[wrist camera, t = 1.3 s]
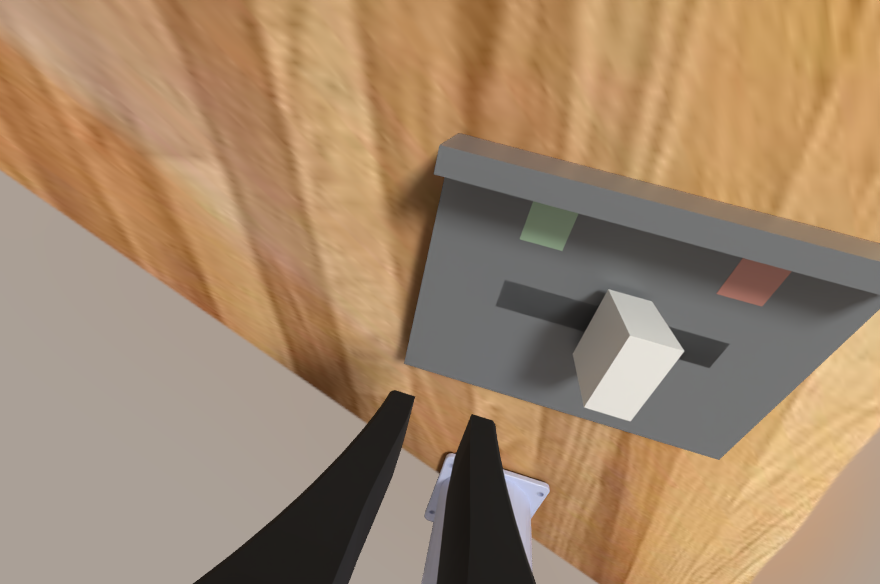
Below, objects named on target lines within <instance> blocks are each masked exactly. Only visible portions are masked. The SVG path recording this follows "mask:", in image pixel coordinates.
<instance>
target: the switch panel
mask: <svg viewBox="0 0 880 584" xmlns="http://www.w3.org/2000/svg"><path fill="white" fill-rule="evenodd" d="M434 174H435V175H438V176H442V177H445V178H444V183H443V187H442V192H441V196H440V201H439V206H438V210H437V215H436V219H435V224H434V229H433V233H432V238H431V242H430V247H429V252H428V256H427V261H426V265H425V270H424V275H423V279H422V284H421V288H420V293H419V298H418V302H417V307H416V311H415V316H414V321H413V325H412V330H411V334H410V339H409V344H408V348H407V353H406V357H405V362H404V364H407V365H410V366H414V367H417V368H420V369H423V370H427V371H430V372H433V373H436V374H440V375H443V376H446V377H449V378H453V379H456V380H459V381H463V382H466V383H469V384H472V385H476V386H479V387H482V388H485V389H489V390H492V391H495V392H499V393H502V394H505V395H508V396H512V397H515V398H518V399H521V400H525V401H528V402H531V403H535V404H538V405H541V406H544V407H548V408H551V409H554V410H557V411H561V412H564V413H567V414H571V415H574V416H577V417H580V418H584V419H587V420H590V421H593V422H597V423H600V424H603V425H607V426H610V427H613V428H616V429H620V430H623V431H626V432H629V433H633V434H636V435H639V436H643V437H646V438H649V439H652V440H656V441H659V442H662V443H665V444H669V445H672V446H675V447H679V448H682V449H685V450H688V451H692V452H695V453H698V454H701V455H705V456H708V457H711V458H715V459H718V460H719V459H720V458H721V457H723V456H724V455H725V454H726V453H727V452H728V451H729V450H730V449H731V448H732V447H733V446H734V445H735V444H736V443H737V442H739V441H740V440H741V439H742V438H743V437H744V436H745V435H746V434H747V433H748V432H749V431H750V430H751V429H752V428H753V427H754V426H756V425H757V424H758V423H759V422H760V421H761V420H762V419H763V418H764V417H765V416H766V415H767V414H768V413H769V412H770V411H772V410H773V409H774V408H775V407H776V406H777V405H778V404H779V403H780V402H781V401H782V400H783V399H784V398H785V397H786V396H788V395H789V394H790V393H791V392H792V391H793V390H794V389H795V388H796V387H797V386H798V385H799V384H800V383H801V382H802V381H804V380H805V379H806V378H807V377H808V376H809V375H810V374H811V373H812V372H813V371H814V370H815V369H816V368H817V367H818V366H820V365H821V364H822V363H823V362H824V361H825V360H826V359H827V358H828V357H829V356H830V355H831V354H832V353H833V352H834V351H836V350H837V349H838V348H839V347H840V346H841V345H842V344H843V343H844V342H845V341H846V340H847V339H848V338H849V337H850V336H851V335H853V334H854V333H855V332H856V331H857V330H858V329H859V328H860V327H861V326H862V325H863V324H864V323H865V322H866V321H867V320H869V319H870V318H871V317H872V316H873V315H874V314H875V313H876V312H877V311H878V310H879V309H880V243H876V242H872V241H869V240H865V239H861V238H857V237H853V236H849V235H846V234H842V233H838V232H834V231H830V230H827V229H823V228H819V227H815V226H811V225H808V224H804V223H800V222H796V221H792V220H788V219H785V218H781V217H777V216H773V215H769V214H766V213H762V212H758V211H754V210H750V209H747V208H743V207H739V206H735V205H731V204H727V203H724V202H720V201H716V200H712V199H708V198H705V197H701V196H697V195H693V194H689V193H686V192H682V191H678V190H674V189H670V188H667V187H663V186H659V185H655V184H651V183H647V182H644V181H640V180H636V179H632V178H628V177H625V176H621V175H617V174H613V173H609V172H606V171H602V170H598V169H594V168H590V167H586V166H583V165H579V164H575V163H571V162H567V161H564V160H560V159H556V158H552V157H548V156H545V155H541V154H537V153H533V152H529V151H526V150H522V149H518V148H514V147H510V146H506V145H503V144H499V143H495V142H491V141H487V140H484V139H480V138H476V137H472V136H468V135H465V134H461V133H458V134H456V135H455V136H453V137H452V138H450V139H448V140H447V141H445V142H443V143H442V144H440V146H439V151H438V156H437V161H436V166H435V171H434ZM608 289H610V290H613V291H617V292H620V293H624V294H628V295H631V296H635V297H638V298H642V299H645V300H649V301H652V302H653V304H654V305H655V307H656V308H657V310H658V311H659V313H660V314H661V316H662V318H663V319H664V321H665V322H666V324H667V325H668V327H669V328H670V330H671V331H672V333H673V334H674V336H675V337H676V339H677V341H678V342H679V344H680V345H681V347H682V348H683V350H684V352H683V354H682V355H681V356H680V358H679V359H678V360H677V361H676V363H675V364H674V365H673V367H672V368H671V369H670V371H669V372H668V373H667V375H666V376H665V377H664V378H663V380H662V381H661V382H660V384H659V385H658V386H657V388H656V389H655V390H654V391H653V393H652V394H651V395H650V397H649V398H648V399H647V401H646V402H645V403H644V404H643V406H642V407H641V408H640V410H639V411H638V412H637V414H636V415H635V416H634V417H633V419H632V420H631V421H627V420H624V419H621V418H617V417H614V416H611V415H607V414H604V413H601V412H598V411H594V410H591V409H588V408H584V405H583V400H582V396H581V391H580V386H579V381H578V377H577V372H576V367H575V363H574V358H573V353H574V351H575V349H576V347H577V345H578V343H579V342H580V340H581V338H582V336H583V334H584V332H585V331H586V329H587V327H588V325H589V323H590V322H591V320H592V318H593V316H594V314H595V312H596V311H597V309H598V307H599V305H600V303H601V302H602V300H603V298H604V296H605V294H606V292H607V291H608Z"/></svg>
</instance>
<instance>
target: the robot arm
mask: <svg viewBox="0 0 880 584" xmlns="http://www.w3.org/2000/svg"><path fill="white" fill-rule="evenodd" d="M414 399H415V396H412V395H408V394H405V393H402V392H399V391H396V390H394V391H391V392H390V393H389V395H388V396H387V398H386V399H385V401H384V402H383V404H382V405H381V407H380V408H379V409H378V411H377V412H376V413H375V415H374V416H373V417H372V419H371V420H370V421H369V422H368V424H367V425H366V426H365V427H364V429H363V430H362V431H361V432H360V433H359V434H358V435H357V437H356V438H355V439H354V440H353V441H352V442H351V443H350V445H349V446H348V447H347V448H346V449H345V450H344V451H343V452H342V454H341V455H340V456H339V457H338V458H337V459H336V460H335V461H334V462H333V463H332V464H331V465H330V466H329V467H328V468H327V469H326V470H325V471H324V472H323V473H322V474H321V475H320V476H319V477H318V478H317V479H316V480H315V481H314V482H313V483H312V484H311V485H310V486H309V487H308V488H307V489H306V490H305V491H304V492H303V493H302V494H301V495H300V496H299V497H297V499H295V500H294V501H293V502H292V503H291V504H290V505H289V506H288V507H286V508H285V509H284V510H283V511H282V512H281V513H280V514H279V515H278V516H277V517H275V518H274V519H273V520H272V521H271V522H269V523H268V524H267V525H266V526H265V527H264V528H262V529H261V530H260V531H259V532H258V533H256V534H255V535H254V536H253V537H252V538H251V539H249V540H248V541H247V542H246V543H245V544H243V545H242V546H241V547H240V548H239V549H238V550H236V551H235V552H233V553H232V554H231V555H230V556H229V557H227V558H226V559H225V560H223V561H222V562H221V563H219V564H218V565H217V566H216V567H214V568H213V569H212V570H211V571H209V572H208V573H206V574H205V575H204V576H203V577H201V578H200V579H199V580H197V581H196V582H195V583H193V584H348V583H349V580H350V578H351V575H352V573H353V570H354V567H355V565H356V562H357V560H358V557H359V555H360V553H361V550H362V548H363V545H364V543H365V541H366V538H367V535H368V534H369V531H370V529H371V526H372V524H373V522H374V519H375V517H376V514H377V512H378V510H379V507H380V505H381V502H382V500H383V498H384V495H385V493H386V491H387V488H388V485H389V483H390V481H391V478H392V476H393V473H394V470H395V466H396V463H397V460H398V457H399V454H400V451H401V448H402V445H403V441H404V438H405V434H406V430H407V426H408V422H409V418H410V414H411V410H412V407H413V403H414ZM548 493H549V485H548V484H547V483H545V482H542V481H538V480H535V479H532V478H529V477H526V476H523V475H520V474H516V473H513V472H510V471H507V470H504V469H503V467H502V462H501V458H500V452H499V447H498V441H497V434H496V426H495V423H494V422H493V421H492V420H489V419H486V418H482V417H479V416H476V415H473V414H472V415H471V417H470V420H469V422H468V425H467V427H466V430H465V432H464V435H463V437H462V440H461V442H460V445H459V447H458V450H457V452H456V454H453V453H449V454H447V455H446V458H445V461H444V463H443V466H442V469H441V471H440V474H439V477H438V479H437V482H436V485H435V487H434V490H433V493H432V496H431V498H430V501H429V503H428V506H427V509H426V512H425V518H426V519H427V520H429V521H432V522H434V523H433V528H432V533H431V538H430V543H429V548H428V553H427V558H426V563H425V568H424V573H423V578H422V583H421V584H536V582H535V579H534V576H533V574H532V543H531V518H532V516H533V515H534V513H535V512H536V510H537V509H538V508H539V506H540V505H541V503H542V502H543V500H544V499H545V497H546V496H547V495H548Z"/></svg>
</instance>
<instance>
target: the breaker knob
mask: <svg viewBox="0 0 880 584" xmlns="http://www.w3.org/2000/svg"><path fill="white" fill-rule="evenodd" d="M683 352H684V350H683V348H682V347H681V345H680V344H679V342H678V341H677V339H676V337H675V336H674V334H673V333H672V331H671V330H670V328H669V327H668V325H667V324H666V322H665V321H664V319H663V318H662V316H661V314H660V313H659V311H658V310H657V308H656V307H655V305H654V304H653V302H652V301H649V300H645V299H642V298H638V297H635V296H631V295H628V294H624V293H620V292H617V291H613V290H610V289H608V291H607V292H606V294H605V296H604V298H603V300H602V302H601V303H600V305H599V307H598V309H597V311H596V312H595V314H594V316H593V318H592V320H591V322H590V323H589V325H588V327H587V329H586V331H585V332H584V334H583V336H582V338H581V340H580V342H579V343H578V345H577V347H576V349H575V351H574V353H573V358H574V363H575V367H576V372H577V377H578V381H579V386H580V391H581V396H582V400H583V405H584V408H588V409H591V410H594V411H598V412H601V413H604V414H607V415H611V416H614V417H617V418H621V419H624V420H627V421H631V420H632V419H633V417H634V416H635V415H636V414H637V412H638V411H639V410H640V408H641V407H642V406H643V404H644V403H645V402H646V401H647V399H648V398H649V397H650V395H651V394H652V393H653V391H654V390H655V389H656V388H657V386H658V385H659V384H660V382H661V381H662V380H663V378H664V377H665V376H666V375H667V373H668V372H669V371H670V369H671V368H672V367H673V365H674V364H675V363H676V361H677V360H678V359H679V358H680V356H681V355H682V354H683Z"/></svg>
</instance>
